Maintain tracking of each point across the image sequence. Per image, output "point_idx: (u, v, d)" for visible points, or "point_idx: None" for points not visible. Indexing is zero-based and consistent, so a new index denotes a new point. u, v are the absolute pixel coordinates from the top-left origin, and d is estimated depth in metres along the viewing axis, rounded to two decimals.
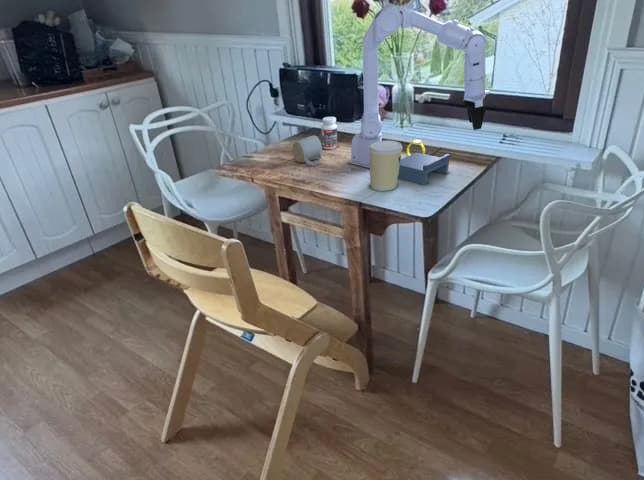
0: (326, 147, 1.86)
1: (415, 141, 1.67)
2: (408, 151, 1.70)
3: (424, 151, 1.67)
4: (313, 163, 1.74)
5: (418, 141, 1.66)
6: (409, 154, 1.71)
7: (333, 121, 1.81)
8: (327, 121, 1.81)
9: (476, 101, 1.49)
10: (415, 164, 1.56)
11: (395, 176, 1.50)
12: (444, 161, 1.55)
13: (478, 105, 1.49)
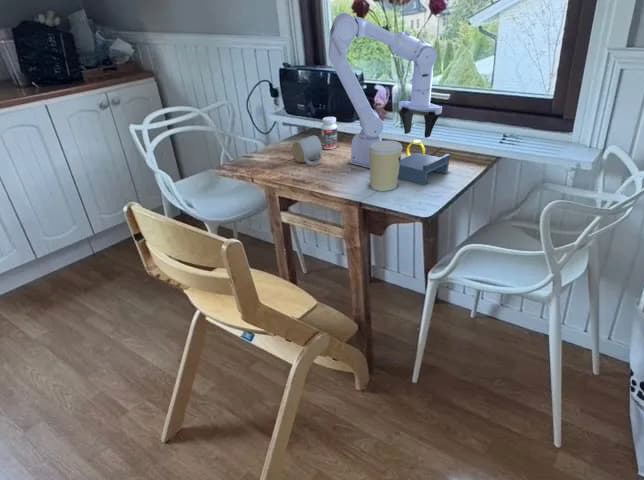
0: (326, 147, 1.86)
1: (415, 141, 1.67)
2: (408, 151, 1.70)
3: (424, 151, 1.67)
4: (313, 163, 1.74)
5: (418, 141, 1.66)
6: (409, 154, 1.71)
7: (333, 121, 1.81)
8: (327, 121, 1.81)
9: (438, 108, 1.55)
10: (415, 164, 1.56)
11: (395, 176, 1.50)
12: (444, 161, 1.55)
13: (439, 112, 1.56)
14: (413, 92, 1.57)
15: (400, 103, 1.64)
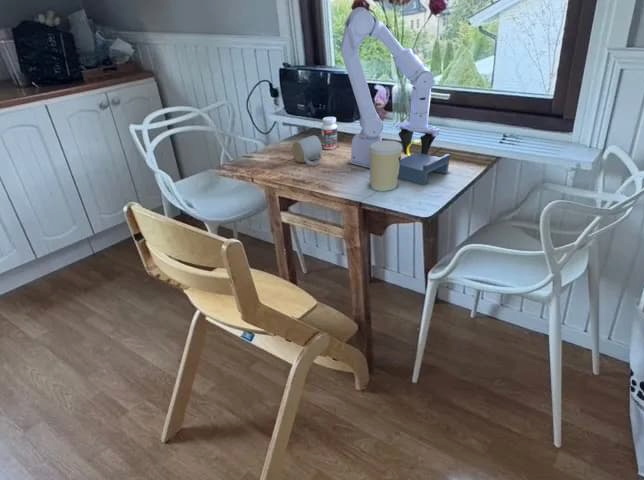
0: (326, 147, 1.86)
1: (415, 141, 1.67)
2: (408, 151, 1.70)
3: None
4: (313, 163, 1.74)
5: (418, 141, 1.66)
6: (409, 154, 1.71)
7: (333, 121, 1.81)
8: (327, 121, 1.81)
9: (436, 130, 1.59)
10: (415, 164, 1.56)
11: (395, 176, 1.50)
12: (444, 161, 1.55)
13: (436, 134, 1.60)
14: (411, 114, 1.61)
15: (398, 124, 1.68)
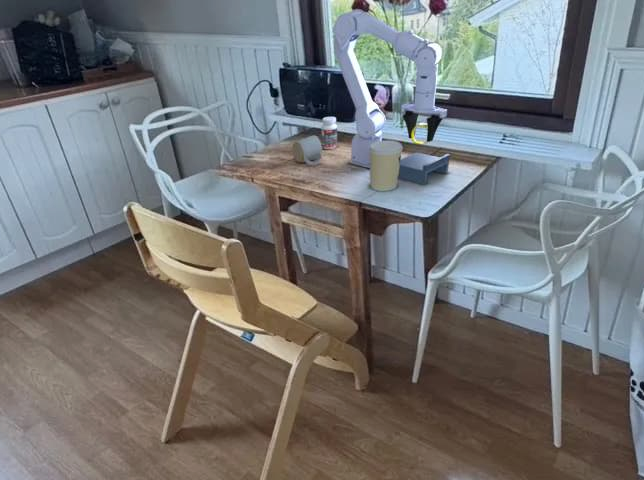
0: (326, 147, 1.86)
1: (420, 124, 1.55)
2: (413, 135, 1.59)
3: None
4: (313, 163, 1.74)
5: (424, 124, 1.55)
6: (414, 138, 1.60)
7: (333, 121, 1.81)
8: (327, 121, 1.81)
9: (443, 111, 1.48)
10: (415, 164, 1.56)
11: (395, 176, 1.50)
12: (444, 161, 1.55)
13: (444, 115, 1.49)
14: (417, 95, 1.50)
15: (403, 106, 1.57)
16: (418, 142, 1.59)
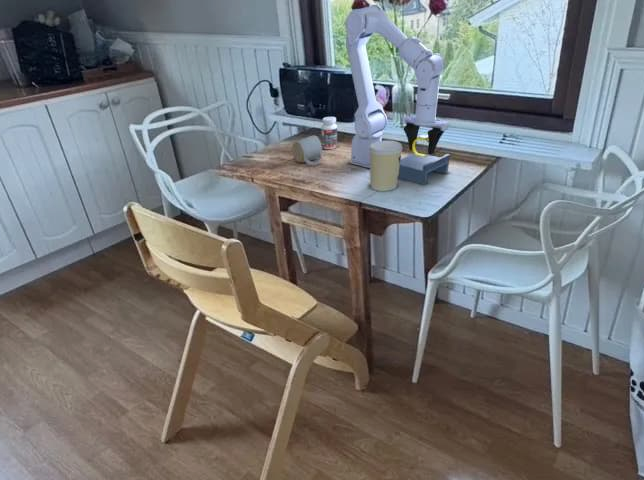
0: (326, 147, 1.86)
1: (422, 136, 1.53)
2: (414, 147, 1.57)
3: None
4: (313, 163, 1.74)
5: (425, 136, 1.53)
6: (415, 150, 1.57)
7: (333, 121, 1.81)
8: (327, 121, 1.81)
9: (445, 124, 1.45)
10: (415, 164, 1.56)
11: (395, 176, 1.50)
12: (444, 161, 1.55)
13: (445, 128, 1.46)
14: (418, 107, 1.47)
15: (403, 118, 1.54)
16: (419, 154, 1.56)
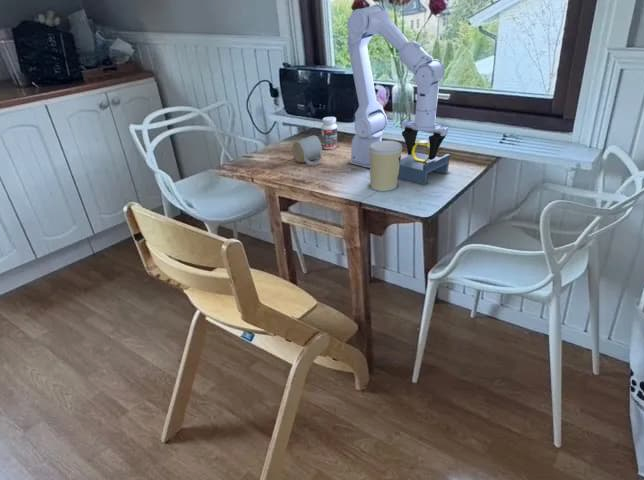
0: (326, 147, 1.86)
1: (421, 141, 1.54)
2: (413, 152, 1.58)
3: None
4: (313, 163, 1.74)
5: (424, 141, 1.54)
6: (414, 155, 1.58)
7: (333, 121, 1.81)
8: (327, 121, 1.81)
9: (444, 130, 1.46)
10: (415, 164, 1.56)
11: (395, 176, 1.50)
12: (444, 161, 1.55)
13: (445, 133, 1.47)
14: (417, 112, 1.48)
15: (403, 123, 1.55)
16: (419, 159, 1.57)
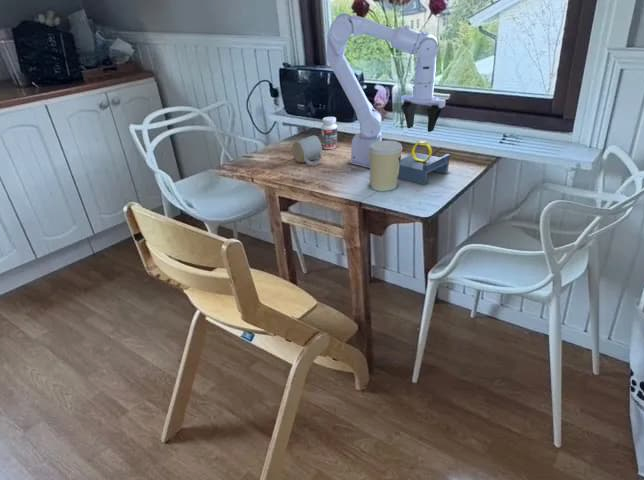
0: (326, 147, 1.86)
1: (421, 141, 1.54)
2: (413, 152, 1.58)
3: (431, 152, 1.54)
4: (313, 163, 1.74)
5: (424, 141, 1.54)
6: (414, 155, 1.58)
7: (333, 121, 1.81)
8: (327, 121, 1.81)
9: (442, 101, 1.51)
10: (415, 164, 1.56)
11: (395, 176, 1.50)
12: (444, 161, 1.55)
13: (442, 105, 1.52)
14: (416, 85, 1.53)
15: (402, 97, 1.60)
16: (419, 159, 1.57)
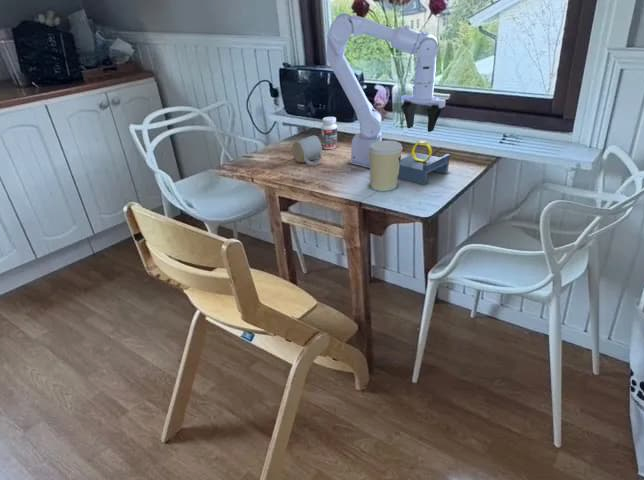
0: (326, 147, 1.86)
1: (421, 141, 1.54)
2: (413, 152, 1.58)
3: (431, 152, 1.54)
4: (313, 163, 1.74)
5: (424, 141, 1.54)
6: (414, 155, 1.58)
7: (333, 121, 1.81)
8: (327, 121, 1.81)
9: (442, 101, 1.51)
10: (415, 164, 1.56)
11: (395, 176, 1.50)
12: (444, 161, 1.55)
13: (442, 105, 1.52)
14: (416, 85, 1.53)
15: (402, 97, 1.60)
16: (419, 159, 1.57)
